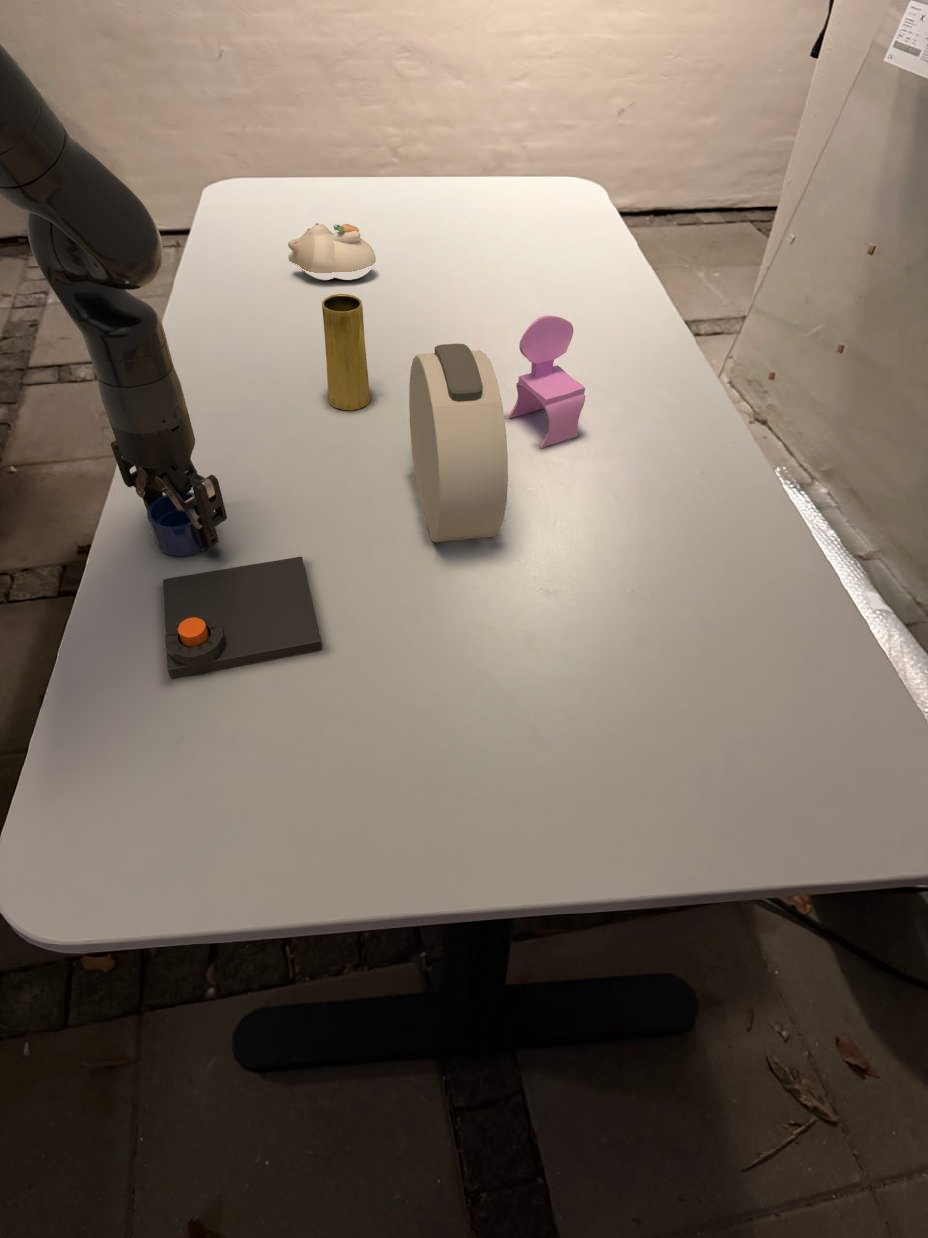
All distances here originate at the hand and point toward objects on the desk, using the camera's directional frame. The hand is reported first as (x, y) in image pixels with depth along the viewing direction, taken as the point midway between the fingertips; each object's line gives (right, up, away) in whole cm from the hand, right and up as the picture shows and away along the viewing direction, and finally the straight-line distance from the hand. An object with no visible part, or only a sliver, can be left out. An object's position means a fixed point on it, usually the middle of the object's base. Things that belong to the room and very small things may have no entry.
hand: (184, 532), depth 89 cm
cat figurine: (+9, +50, +48) cm, 70 cm away
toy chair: (+43, +17, +19) cm, 50 cm away
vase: (+16, +21, +22) cm, 35 cm away
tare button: (+6, -12, -13) cm, 18 cm away
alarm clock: (+31, +4, +7) cm, 32 cm away
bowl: (0, -1, +1) cm, 1 cm away
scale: (+9, -10, -7) cm, 15 cm away
